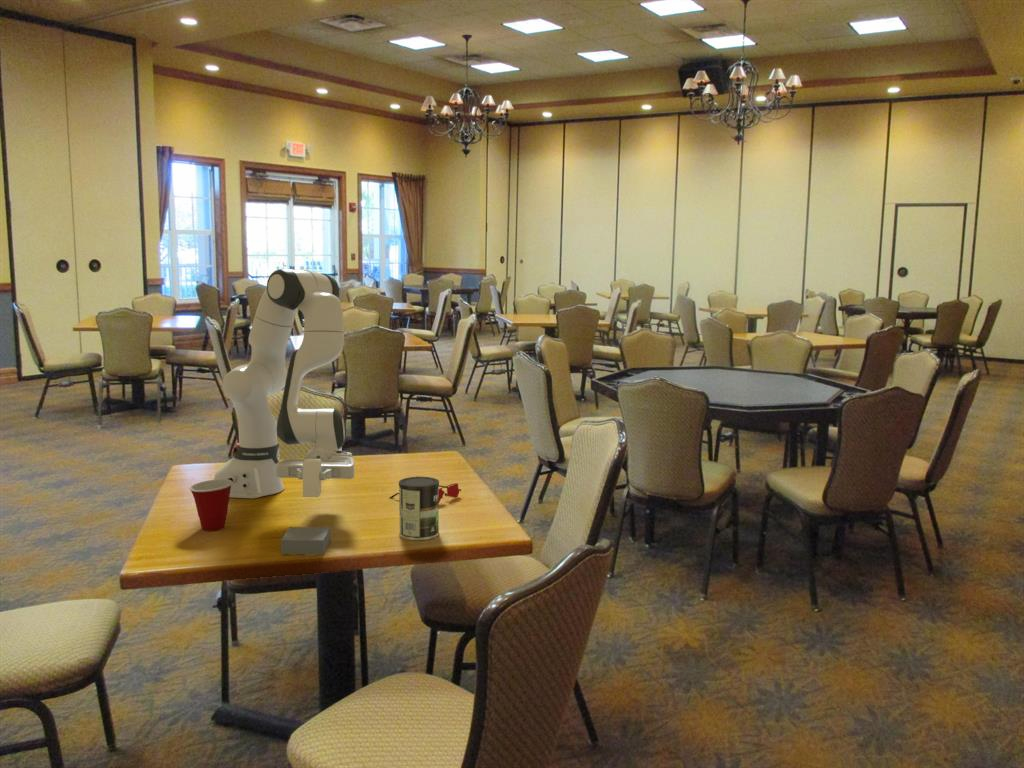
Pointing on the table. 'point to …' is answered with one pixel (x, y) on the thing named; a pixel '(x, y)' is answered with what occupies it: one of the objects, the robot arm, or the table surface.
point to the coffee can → (419, 508)
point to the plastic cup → (212, 502)
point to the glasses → (451, 491)
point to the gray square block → (305, 540)
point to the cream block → (311, 478)
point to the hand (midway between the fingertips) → (311, 476)
